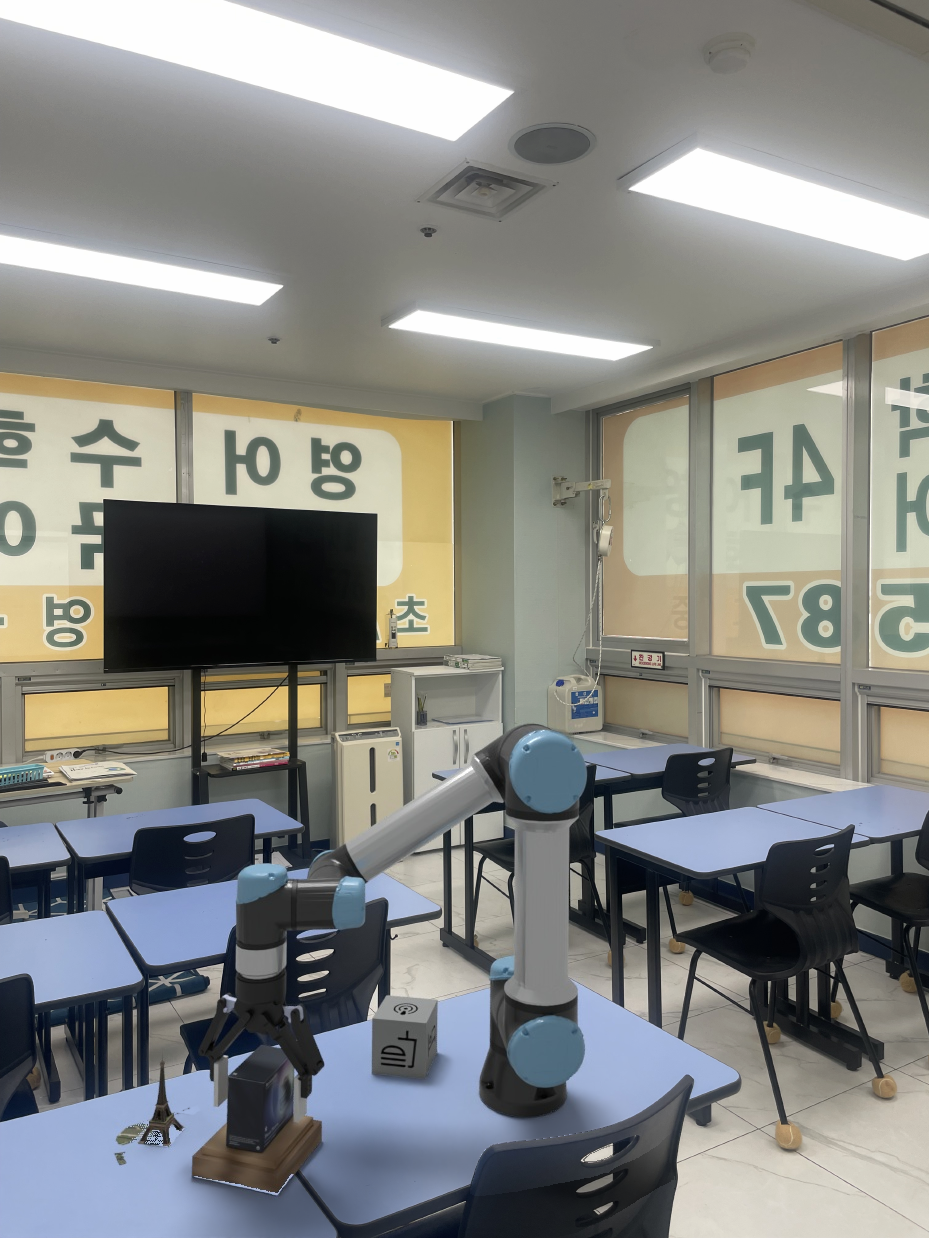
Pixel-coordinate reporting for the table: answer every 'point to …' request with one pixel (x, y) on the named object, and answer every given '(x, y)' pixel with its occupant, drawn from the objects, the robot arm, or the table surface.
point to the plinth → (259, 1157)
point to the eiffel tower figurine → (152, 1122)
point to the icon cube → (404, 1037)
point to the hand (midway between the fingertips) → (259, 1109)
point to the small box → (259, 1099)
